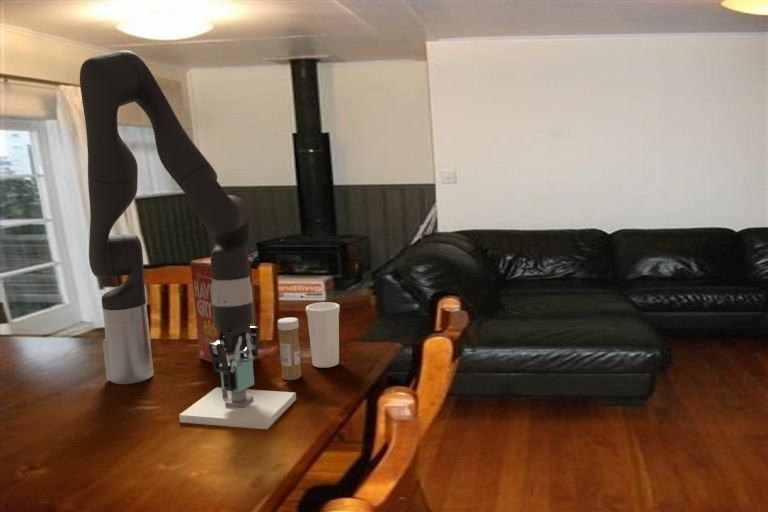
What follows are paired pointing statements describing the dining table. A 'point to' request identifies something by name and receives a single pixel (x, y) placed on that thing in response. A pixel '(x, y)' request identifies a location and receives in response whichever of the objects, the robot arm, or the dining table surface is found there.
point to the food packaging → (207, 306)
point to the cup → (324, 333)
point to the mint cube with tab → (242, 374)
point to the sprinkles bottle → (289, 348)
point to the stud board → (239, 408)
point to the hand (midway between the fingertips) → (238, 384)
